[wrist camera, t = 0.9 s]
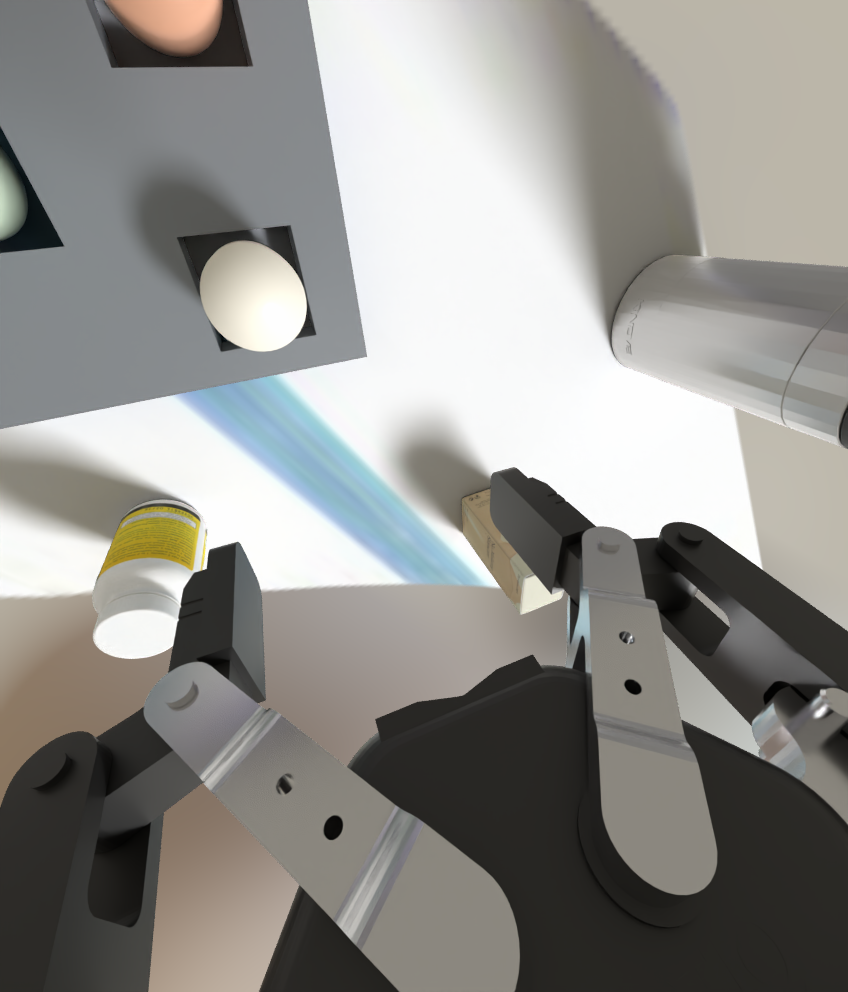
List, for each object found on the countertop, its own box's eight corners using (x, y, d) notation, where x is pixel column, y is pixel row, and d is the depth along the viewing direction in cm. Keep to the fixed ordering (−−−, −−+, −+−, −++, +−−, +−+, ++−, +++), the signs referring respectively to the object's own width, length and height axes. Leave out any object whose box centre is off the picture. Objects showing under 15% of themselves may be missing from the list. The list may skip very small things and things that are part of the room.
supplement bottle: (104, 508, 26) (50, 620, 19) (191, 488, 28) (173, 585, 20) (142, 564, 30) (108, 680, 22) (218, 544, 31) (211, 646, 24)
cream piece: (284, 235, 21) (291, 236, 18) (306, 327, 23) (316, 342, 20) (190, 245, 20) (180, 249, 16) (225, 341, 22) (223, 359, 19)
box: (460, 496, 38) (524, 575, 29) (499, 484, 39) (572, 556, 30) (462, 536, 41) (520, 618, 32) (498, 524, 42) (564, 600, 33)
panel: (263, -188, 15) (266, -246, 13) (358, 347, 27) (366, 356, 25) (-536, -305, 10) (-709, -423, 8) (13, 413, 22) (-8, 430, 20)
